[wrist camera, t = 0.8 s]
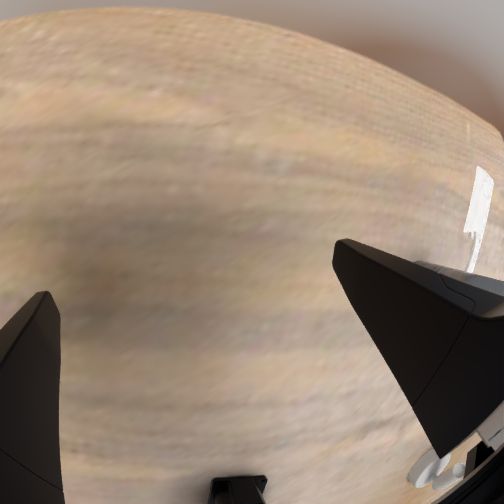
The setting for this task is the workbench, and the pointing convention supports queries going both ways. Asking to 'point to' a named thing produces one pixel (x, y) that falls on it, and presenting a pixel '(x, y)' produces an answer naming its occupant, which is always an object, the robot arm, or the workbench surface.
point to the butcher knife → (478, 213)
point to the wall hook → (435, 471)
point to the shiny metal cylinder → (468, 278)
